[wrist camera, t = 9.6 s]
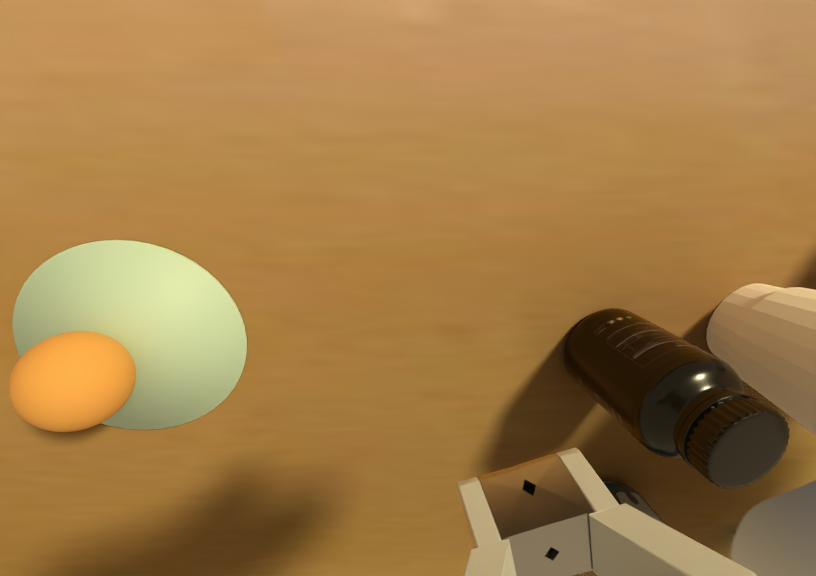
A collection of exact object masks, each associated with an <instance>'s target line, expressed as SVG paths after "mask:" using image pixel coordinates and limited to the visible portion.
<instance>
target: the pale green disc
mask: <svg viewBox="0 0 816 576" xmlns="http://www.w3.org/2000/svg"><path fill="white" fill-rule="evenodd" d="M75 331H89V332H96V333H100V334H103V335H107V336H109V337H111V338H113V339H115V340H117V341H118V342H119V343H121V344H122V345H123V346H124V347H125V348H126V349H127V350H128V351H129V353H130V355H131V356H132V358H133V360H134V363H135V367H136V381H135V386H134V388H133V391H132V394H131V395H130V397H129V399H128V400H127V402H126V403H125V404H124V406H123V407H122V408H121V409H120V410H119V411H118V412H116V413H115V414H114V415H113V416H111V417H110V418H108V419H107V420H105V421H104V422H102V423H101V424H105V425H108V426H113V427H118V428H124V429H135V430H153V429H162V428H169V427H173V426H178V425H181V424H184V423H187V422H190V421H193V420H195V419H197V418H199V417H201V416H203V415H205V414H206V413H208V412H209V411H211V410H213V409H214V408H215V407H216V406H218V405H219V404H220V403H221V402H222V401H223V400H224V399H225V398H226V397H227V396H228V395H229V394H230V392H231V391H232V390H233V388H234V387H235V385H236V384H237V382H238V380H239V378H240V376H241V374H242V371H243V368H244V364H245V361H246V354H247V336H246V330H245V325H244V322H243V319H242V316H241V313H240V311H239V309H238V307H237V305H236V303H235V302H234V300H233V299H232V297H231V295H230V294H229V292H228V291H227V290H226V289H225V288H224V287H223V285H222V284H221V283H220V282H219V281H218V280H217V279H216V278H215V277H214V276H213V275H212V274H210V273H209V272H208V271H207V270H206V269H204V268H203V267H201V266H200V265H199V264H197V263H196V262H194V261H192V260H190V259H189V258H187V257H185V256H183V255H181V254H179V253H177V252H174V251H172V250H170V249H167V248H164V247H161V246H157V245H154V244H150V243H145V242H139V241H131V240H102V241H96V242H90V243H85V244H82V245H79V246H75V247H72V248H70V249H67V250H65V251H63V252H61V253H59V254H56V255H55V256H53V257H52V258H50V259H49V260H47V261H46V262H44V263H43V264H42V265H41V266H40V267H38V268H37V269H36V270H35V271H34V272H33V273H32V274H31V276H30V277H29V278H28V279H27V281H26V282H25V283H24V285H23V287H22V289H21V291H20V293H19V295H18V298H17V301H16V304H15V307H14V313H13V335H14V340H15V345H16V348H17V351H18V353H19V356H20V358H21V357H22V356H23V355H24V354H25V353H26V352H27V351H28V350H29V349H31V348H32V347H33V346H35V345H36V344H38V343H39V342H41V341H43V340H45V339H47V338H50V337H52V336H55V335H58V334H62V333H67V332H75Z"/></svg>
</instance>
